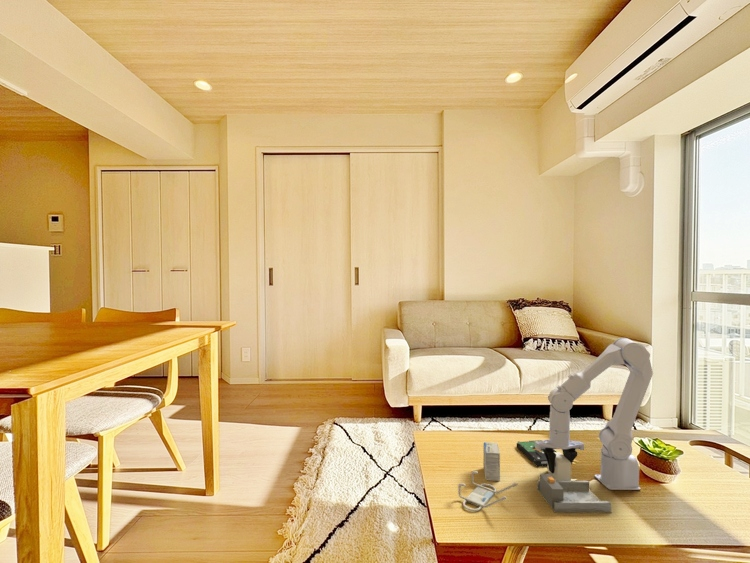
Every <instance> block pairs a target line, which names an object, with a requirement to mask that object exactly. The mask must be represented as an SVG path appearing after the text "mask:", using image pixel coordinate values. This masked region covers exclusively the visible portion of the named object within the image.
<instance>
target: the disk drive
mask: <svg viewBox="0 0 750 563" xmlns="http://www.w3.org/2000/svg"><path fill="white" fill-rule="evenodd" d="M535 441H536V440H527V441H520V440H519V441H517V442H516V448H517V449H518V450H519V451H520V452H521V453H522V454H523V455H524V456H525V457H526V458H527V457H528V458H527V459H528V460H529V461H530V462H531V463H533V464H534V465H535V466H536V467H538V468H539V467H548V462H547V459H546V456H545V454H544V452H543V450H542V449H541V450H537V449H536V448H535ZM537 441H543V440H541V439H539V440H537ZM553 451H554V452H557V451H556V449H553Z"/></svg>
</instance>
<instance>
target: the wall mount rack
mask: <svg viewBox="0 0 750 563" xmlns="http://www.w3.org/2000/svg"><path fill="white" fill-rule="evenodd" d="M474 474H475V475H478V474H479V472H478V471H476V470H473V471H471V474H470V475H471V483H472V485H474V486H476V487H475V488H474V489H473V490H472V491H471V493H470V494H469V495H467V496H466V497H465V496H463V495H461V494H462V493H461V490H462V489H461V488H462V487H463V488H464V487H466V484H465V483H462V482H461V483H459V484H458V497H460V498H461V499H462V500H463V502H462V506H463V508H464V509H466V510H468V511H470V512H478V511H480V510H481V509H483V508H488V507H490V506H494V505H495V504H497V503H499V502H501V501H505V500H507V496H506V495H503V496H502V497H500V498H498V499H495V500H494V501H492V502H489V501H490V500H492V498H493V497H494V496H495V494H496V495H497V494H500V493H502V492H505V491H507V490H510V489H511V488H513V487H517V486H518V482H513V483H511V485H509V486H506V487H504V488H502V489H500V490H498V491H497V488H496V487H495V486H494V485H492V484H490V483H487V482H486V483H480V484H479V483H476V482H475V481H474ZM486 486H487V487H486ZM489 487H491V488H489ZM467 502H468V503H469V504H472V505H474V506H476V507H478V508H471V507H468V506H467V505H466V503H467ZM488 502H489V503H488Z"/></svg>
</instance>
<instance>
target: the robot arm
mask: <svg viewBox="0 0 750 563" xmlns="http://www.w3.org/2000/svg"><path fill="white" fill-rule="evenodd" d="M650 357H651V354H650V352H649V351H648V350H647V348H646V347H645V346H644V345H643V344H642V343H639V342H636V341H633V340H631V339H630V338H627V337H619V338H617V339H615V340H614V341H613V343H611V344H609V345H608V346H606V348H605V349H604V351H602V352H601V353H600V355H599V356H597V357H596V358H595V359H594V360H593V361H592V363H590V364H589V365H588V366H587V367H586V368H584V370H583V371H582V372H575V373H574V374H572V373H571V374H569V375H568V376H567V377H568V378H567V380H566V381H564V382H563V383H562V384H561V385H558V386H556V388H555V389H552V390H551V391H550V392H549V394H548V395H547V400H548V402H549V404H550V406H549V432H548V434H549V437H548V439H545V440H542V441H538V440H534V441H535V448H536V449H537V450H541V449H542V450H543V452H544V454H545V456H546V459H547V462H548V466H549V471H550V472H551V473H554V471H555V458H556V454H555V453H554V451H553V449H554V450H561V451H562V455H564V456H565V457H566V458H567V459H568V460H569V461H570V462H571V466H572V464H573V462H574V460H576V458H577V457H578V452H577V451H576V450H580V451H585V444H584V442H582V441H577V440H570V439H571V436H570V434H571V433H570V432H571V430H570V429H571V428H570V424H571V423H570V420H571V415H570V410H571V409H572V408H573V406H574V402H576V401H577V399H579V398H581V396H583V394H585V393H586V392H587V391H589V389H591V382H592V381H593V380H595V379H596V378H597V377H598V376H600V375H601V374H603V373H604V372H605V371H606V370H607V369H609V368H610V367H611V366H615V365H616V366H618V365H621V366H622V365H625V366H626V368H627V369H628V372H629V374H628V377H627V379H626V382H625V385H624V388H623V390H622V392H621V396H620V398H619V400H618V403H617V405H616V408H615V411H614V413H613V416H612V419H610V420H608V421H607V422H606V425H605V426H604V427H603V428H602V429H600V431H599V432H598V438H599V441H600V443H601V444H602V447H601V449H600V474H594V478H595V479H597V480H598V481H599V482H600V483H601V484H602V485H603V486H605V488H606V489H608V490H609V491H613V490H615V491H632V490H633V491H639V490H641V487H640V486H639V485H640V484H639V482H640V466H639V462H638V460H637V458H636V457H635V456H634V455H633V454H632V453H633V447H632V443H633V440H634V439H633V438H634V436H633V426H634V425H635V424H634V423H635V420H636V419H637V416H638V413H639V410H640V408H641V406H642V402H643V401H644V398H645V395H646V393H647V391H648V387H649V385H650V382H651V380H652V377H653V374H654V373H653V367H652V364H651V359H650ZM548 466H547V467H548Z"/></svg>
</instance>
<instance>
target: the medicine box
mask: <svg viewBox="0 0 750 563" xmlns="http://www.w3.org/2000/svg"><path fill="white" fill-rule="evenodd" d="M482 463H483V471H484V472H483V473H484V479H485V480H486V481H491V482H492V481H495V482H500V481H501V455H500V449H499V446H498V443H496V442H490V441H489V442H484V441H483V461H482Z"/></svg>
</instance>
